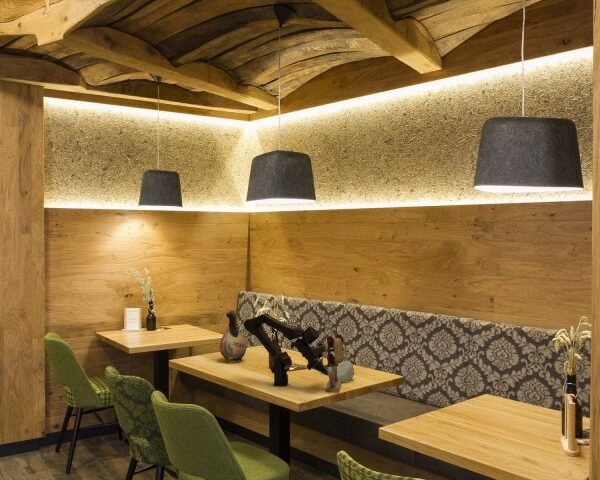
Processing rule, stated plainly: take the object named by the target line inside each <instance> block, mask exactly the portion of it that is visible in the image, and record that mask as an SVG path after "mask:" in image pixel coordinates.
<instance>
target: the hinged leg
mask: <svg viewBox="0 0 600 480" xmlns="http://www.w3.org/2000/svg"><path fill="white" fill-rule="evenodd" d="M326 369H327V372H328V374H327V375H328V381H329V380H330V372H331V371H332V368H331V367H327V368H326Z"/></svg>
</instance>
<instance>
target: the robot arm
mask: <svg viewBox="0 0 600 480" xmlns="http://www.w3.org/2000/svg"><path fill="white" fill-rule="evenodd" d="M264 324H265V325H267V326H269V327H271V328H273V329H274V330H276V331H278V332H280V333H281V334H282V336H284V337H285V339H287V340H288V341H291V342H290V349H291V350H292V349H293V348H296V350H297V351H298V352H299V353H300V354H301V357H302V358H305V360H306V361H307V364H306V368H307V370H308V371H311V370H314V371H317V372H320V373H322V374H324V375H328V372H327V370H326V368H325V364H324V357H323V356H325V354H324V353H327V349H328V348H327V345H326V344H325V343H323V342H319V343H318V346H315V347H314V346H311V345H312V344H313V343H314V342H315V341H316V340H317V339H318V338H320V333H319V331H318V330H317V329H315V328H314V327H312V326H308V327H307V328H306V329H305V330H302V329H301V328H300V327H298V326H295V325H291V324H286V323H285V322H283V321H280V320H279V319H278V318H275V317H273V316H271V315H270V314H268V313H263V314H260V315H258V316H256V317H252V318H246V319H245V321H244V322H243V328H244V329H245V330H246V331H247V332H248V333H249V334H251V335H253V336H255V338H256V339H257V340H258V341H259V342H260V344H261V345H262V346H263V347H264V349H265V350H266V352H268V354H269V355H270V356H271V359H272V362H273V366H272V367H271V368H270V371H271V373H272V374H273V386H274V387H275V386H276V387H283V386H284V387H287V386H288V384H289V374H288V372H289V371H290V369H291V367H292V366H293V365H292V364H293V360H292V356H290V355H289V353H288V352H287V351H281V350H280V349H279V348H278V347H277V345H276V344H275V343H274V342H273V341H272V339H271V338H270V337H269V335H268V334H267V333H266V331H264V327H263V325H264ZM293 340H295V341H293Z"/></svg>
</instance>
